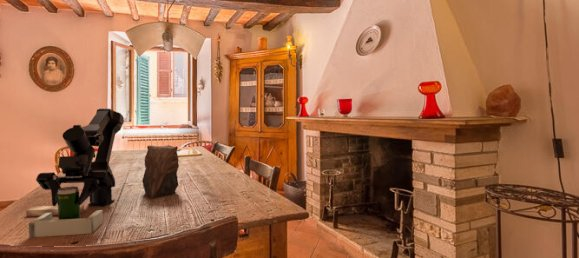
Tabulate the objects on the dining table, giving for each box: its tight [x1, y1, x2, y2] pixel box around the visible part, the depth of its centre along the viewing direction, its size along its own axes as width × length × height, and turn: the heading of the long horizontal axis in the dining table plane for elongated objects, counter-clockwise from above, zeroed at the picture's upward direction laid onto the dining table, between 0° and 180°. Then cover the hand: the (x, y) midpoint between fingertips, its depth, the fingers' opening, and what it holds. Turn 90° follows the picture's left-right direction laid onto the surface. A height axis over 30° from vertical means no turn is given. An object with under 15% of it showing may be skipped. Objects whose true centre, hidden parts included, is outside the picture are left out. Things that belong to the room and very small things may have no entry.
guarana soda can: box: [57, 186, 81, 220], centre depth 96 cm, size 5×5×12 cm
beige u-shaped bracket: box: [28, 209, 104, 238], centre depth 96 cm, size 9×16×4 cm, turn 101°
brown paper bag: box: [142, 144, 180, 200], centre depth 136 cm, size 13×13×20 cm
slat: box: [25, 204, 85, 217], centre depth 111 cm, size 16×4×2 cm, turn 96°
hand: (66, 204), depth 95 cm, fingers open, 6 cm apart
